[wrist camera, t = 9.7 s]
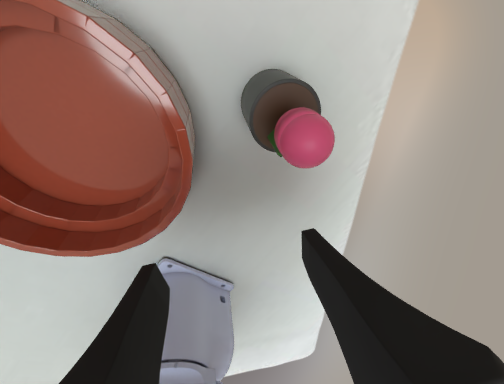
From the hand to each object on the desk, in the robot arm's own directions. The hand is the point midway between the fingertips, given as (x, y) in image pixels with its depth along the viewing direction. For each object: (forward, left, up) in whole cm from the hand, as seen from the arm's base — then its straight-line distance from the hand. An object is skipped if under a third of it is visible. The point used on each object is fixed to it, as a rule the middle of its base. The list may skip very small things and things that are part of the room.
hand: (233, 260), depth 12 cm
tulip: (+1, -6, -10) cm, 12 cm away
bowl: (+9, +4, -10) cm, 14 cm away
